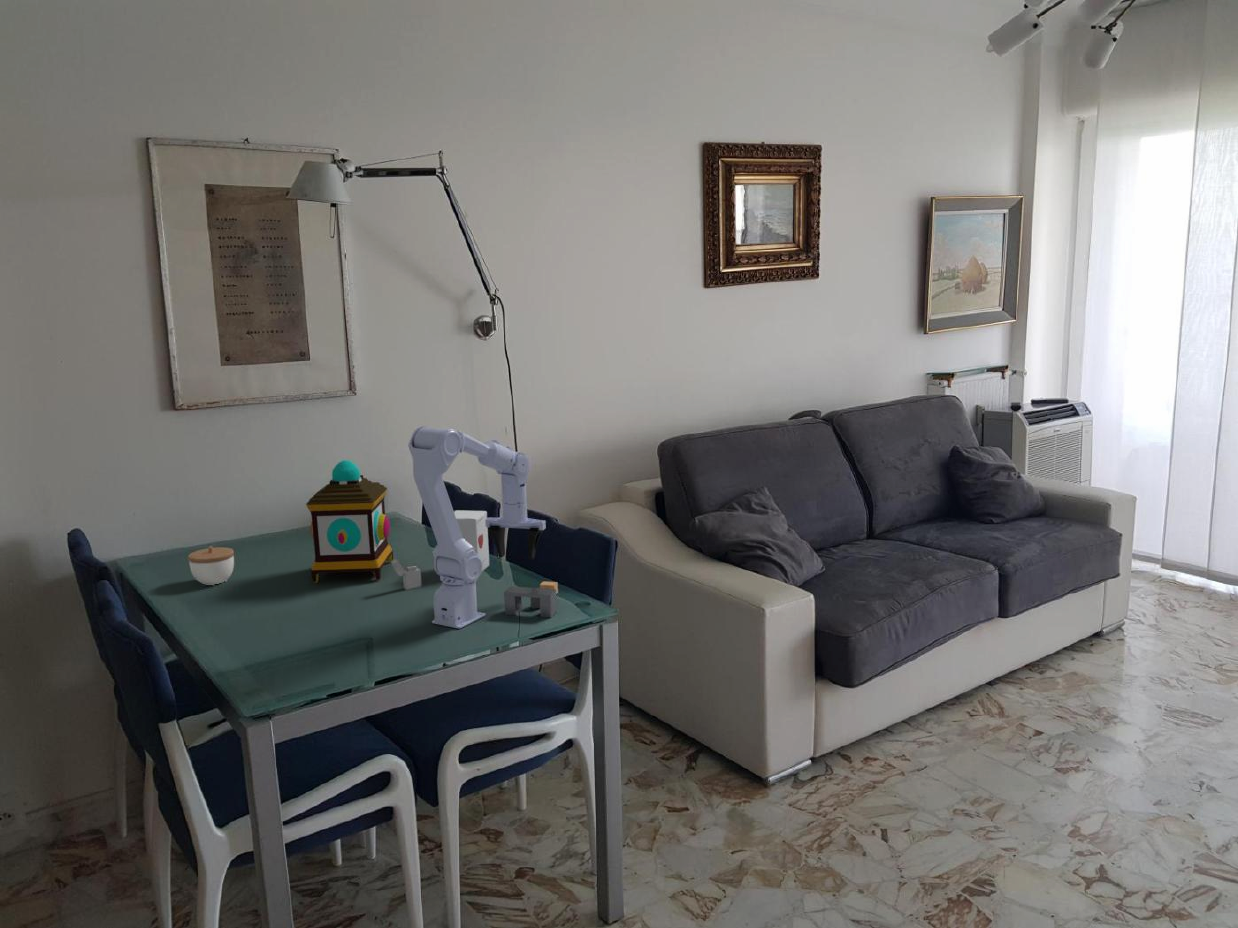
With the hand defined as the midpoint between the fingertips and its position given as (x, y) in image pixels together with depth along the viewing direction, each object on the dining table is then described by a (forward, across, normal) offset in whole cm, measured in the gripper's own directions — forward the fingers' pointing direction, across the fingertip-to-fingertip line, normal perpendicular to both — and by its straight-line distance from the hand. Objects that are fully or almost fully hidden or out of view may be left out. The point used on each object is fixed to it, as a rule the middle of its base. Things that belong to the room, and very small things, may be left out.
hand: (516, 557), depth 226 cm
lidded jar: (+10, +81, +7) cm, 82 cm away
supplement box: (+10, +20, -16) cm, 28 cm away
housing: (+9, -8, +11) cm, 16 cm away
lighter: (+10, +29, +1) cm, 31 cm away
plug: (+9, -7, +3) cm, 12 cm away
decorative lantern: (+10, +49, -8) cm, 51 cm away
